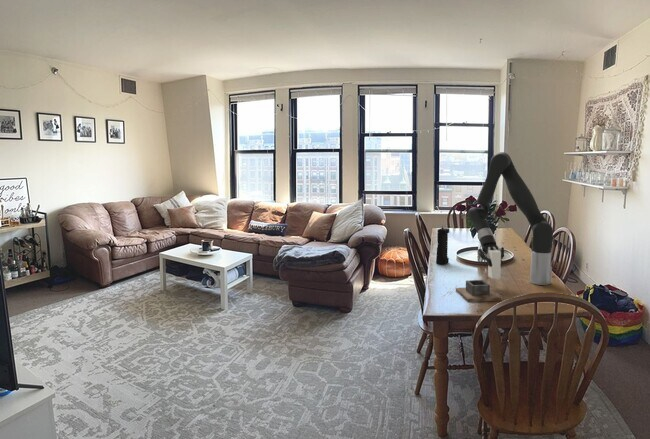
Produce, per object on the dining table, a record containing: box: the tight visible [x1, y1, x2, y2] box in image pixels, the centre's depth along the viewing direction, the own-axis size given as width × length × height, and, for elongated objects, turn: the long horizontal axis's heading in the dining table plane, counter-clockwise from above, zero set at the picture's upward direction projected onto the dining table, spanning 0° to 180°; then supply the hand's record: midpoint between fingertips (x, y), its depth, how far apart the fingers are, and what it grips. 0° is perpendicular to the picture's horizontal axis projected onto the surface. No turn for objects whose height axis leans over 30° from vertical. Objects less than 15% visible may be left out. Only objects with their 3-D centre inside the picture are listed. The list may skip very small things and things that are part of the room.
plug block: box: [487, 250, 502, 279], centre depth 211 cm, size 4×4×14 cm
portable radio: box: [435, 225, 450, 266], centre depth 259 cm, size 8×6×25 cm
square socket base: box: [455, 279, 502, 303], centre depth 201 cm, size 16×16×6 cm
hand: (496, 265), depth 209 cm, fingers closed on plug block, 4 cm apart
